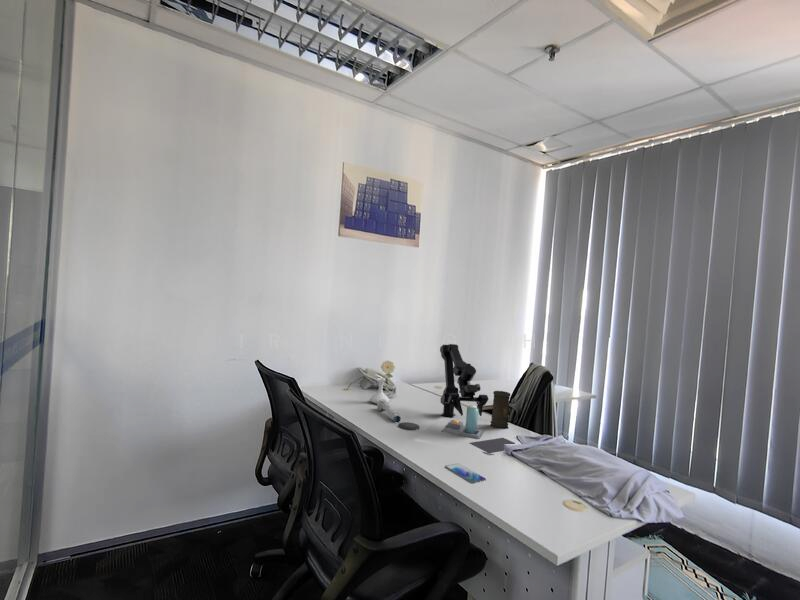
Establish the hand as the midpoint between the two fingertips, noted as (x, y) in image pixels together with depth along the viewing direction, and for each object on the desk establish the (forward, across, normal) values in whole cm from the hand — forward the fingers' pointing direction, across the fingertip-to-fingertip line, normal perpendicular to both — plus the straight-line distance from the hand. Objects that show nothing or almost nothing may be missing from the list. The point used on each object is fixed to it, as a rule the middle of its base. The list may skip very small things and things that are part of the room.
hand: (471, 415), depth 194 cm
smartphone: (+36, -18, -21) cm, 45 cm away
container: (-2, +20, +16) cm, 26 cm away
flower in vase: (-32, -33, +45) cm, 65 cm away
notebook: (+17, +7, -3) cm, 19 cm away
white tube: (-14, -34, +28) cm, 46 cm away
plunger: (-2, -4, +13) cm, 14 cm away
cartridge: (+6, 0, +6) cm, 9 cm away
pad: (-2, -26, +15) cm, 31 cm away
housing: (+4, -2, +10) cm, 11 cm away
